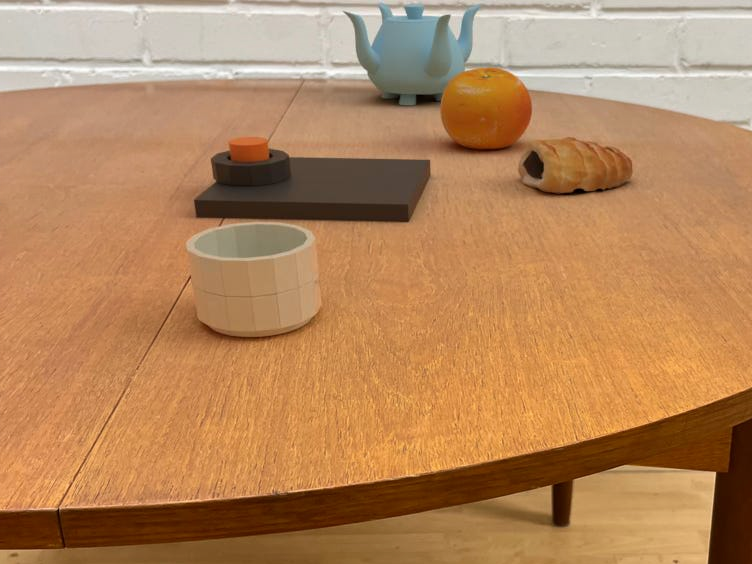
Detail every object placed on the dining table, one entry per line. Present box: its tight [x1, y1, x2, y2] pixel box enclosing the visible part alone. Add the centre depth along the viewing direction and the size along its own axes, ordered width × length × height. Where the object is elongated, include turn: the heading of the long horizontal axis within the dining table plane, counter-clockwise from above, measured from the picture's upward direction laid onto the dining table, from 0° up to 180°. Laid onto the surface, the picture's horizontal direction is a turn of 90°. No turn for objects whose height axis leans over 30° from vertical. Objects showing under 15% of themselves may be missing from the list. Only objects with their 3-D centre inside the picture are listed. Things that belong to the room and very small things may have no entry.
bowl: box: [184, 221, 322, 338], centre depth 54 cm, size 7×7×4 cm
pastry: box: [517, 136, 634, 195], centre depth 80 cm, size 9×7×4 cm
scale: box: [193, 148, 431, 223], centre depth 77 cm, size 16×14×3 cm
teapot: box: [342, 2, 484, 106], centre depth 112 cm, size 13×13×10 cm
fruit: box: [440, 67, 533, 151], centre depth 91 cm, size 8×8×8 cm
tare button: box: [228, 136, 270, 162], centre depth 76 cm, size 3×3×2 cm
